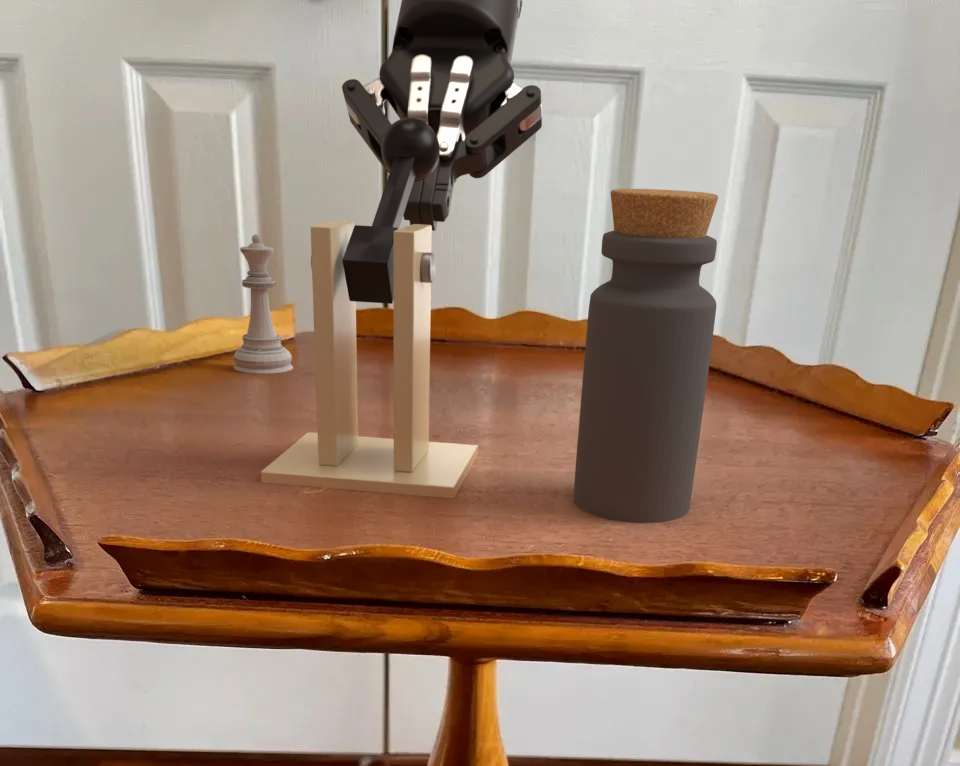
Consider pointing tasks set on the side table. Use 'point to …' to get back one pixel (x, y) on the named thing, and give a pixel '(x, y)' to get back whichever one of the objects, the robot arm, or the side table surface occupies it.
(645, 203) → the bottle
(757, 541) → the side table surface
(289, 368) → the chess piece
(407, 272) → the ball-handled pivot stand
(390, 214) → the lever
